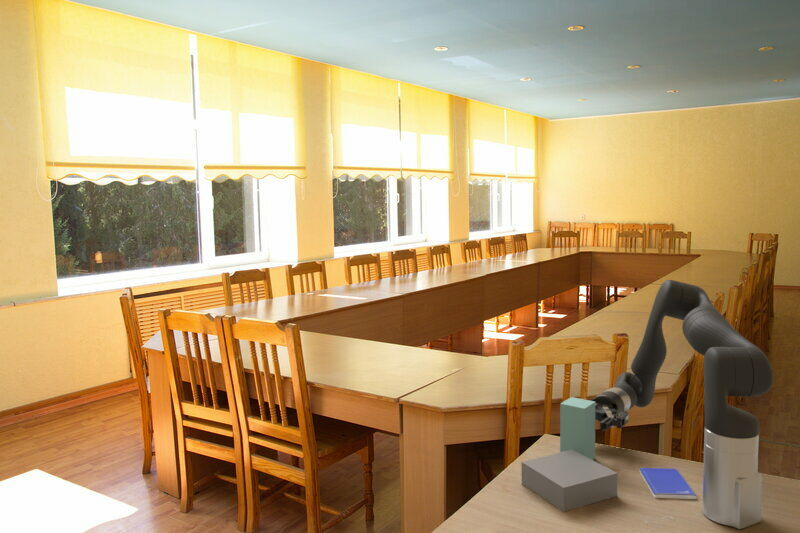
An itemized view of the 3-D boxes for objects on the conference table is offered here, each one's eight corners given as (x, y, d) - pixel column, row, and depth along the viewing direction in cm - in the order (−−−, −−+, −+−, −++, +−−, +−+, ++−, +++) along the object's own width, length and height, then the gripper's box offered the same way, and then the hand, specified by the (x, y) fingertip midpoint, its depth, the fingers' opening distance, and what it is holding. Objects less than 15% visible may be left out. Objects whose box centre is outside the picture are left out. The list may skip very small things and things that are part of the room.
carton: (595, 458, 150) (595, 401, 149) (584, 467, 146) (584, 408, 144) (571, 452, 154) (571, 397, 153) (560, 460, 150) (560, 403, 148)
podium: (617, 496, 132) (617, 473, 131) (563, 511, 126) (563, 487, 125) (572, 470, 144) (572, 449, 144) (521, 483, 138) (521, 461, 138)
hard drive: (696, 494, 129) (677, 468, 142) (654, 492, 130) (639, 467, 143) (696, 501, 130) (677, 475, 142) (654, 500, 130) (639, 474, 143)
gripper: (584, 386, 168) (557, 402, 156) (638, 395, 159) (613, 413, 147) (584, 413, 169) (557, 431, 157) (638, 424, 160) (613, 444, 148)
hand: (584, 422), depth 152 cm, fingers open, 8 cm apart
